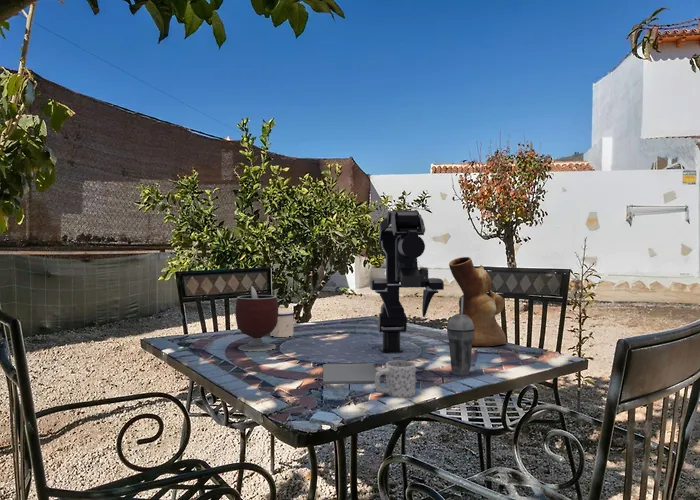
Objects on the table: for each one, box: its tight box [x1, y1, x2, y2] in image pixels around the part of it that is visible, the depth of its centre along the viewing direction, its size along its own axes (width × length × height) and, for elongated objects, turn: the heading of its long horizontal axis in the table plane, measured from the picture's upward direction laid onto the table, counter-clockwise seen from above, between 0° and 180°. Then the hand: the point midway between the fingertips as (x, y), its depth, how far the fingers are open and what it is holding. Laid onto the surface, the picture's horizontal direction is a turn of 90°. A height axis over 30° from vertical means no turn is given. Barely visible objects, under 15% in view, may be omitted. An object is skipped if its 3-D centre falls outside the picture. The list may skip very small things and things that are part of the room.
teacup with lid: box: [269, 304, 295, 338], centre depth 182 cm, size 12×9×12 cm
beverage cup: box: [446, 297, 475, 376], centre depth 127 cm, size 7×7×20 cm
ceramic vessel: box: [448, 256, 507, 347], centre depth 166 cm, size 16×22×30 cm
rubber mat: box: [322, 362, 382, 385], centre depth 127 cm, size 18×14×1 cm
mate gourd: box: [234, 285, 279, 352], centre depth 161 cm, size 16×14×20 cm
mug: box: [374, 359, 416, 398], centre depth 109 cm, size 10×7×7 cm, turn 118°
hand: (406, 316), depth 128 cm, fingers open, 9 cm apart
